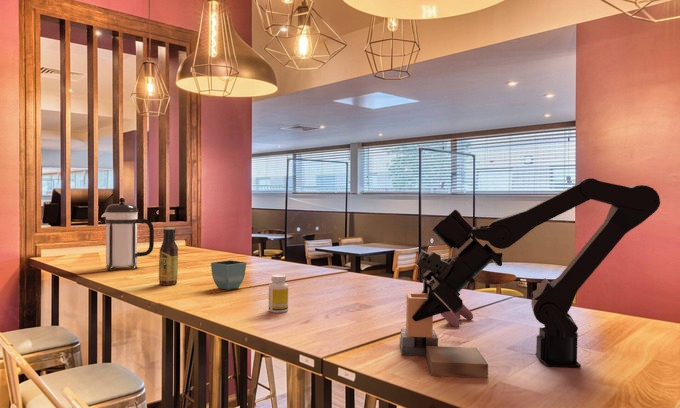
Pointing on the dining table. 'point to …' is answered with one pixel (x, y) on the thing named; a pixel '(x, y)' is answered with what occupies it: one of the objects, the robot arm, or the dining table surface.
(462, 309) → the video game controller
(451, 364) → the walnut block
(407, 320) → the sleeve
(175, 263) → the sauce bottle
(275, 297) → the supplement bottle
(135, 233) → the coffee press
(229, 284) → the flower pot
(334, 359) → the dining table surface
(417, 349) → the vise
